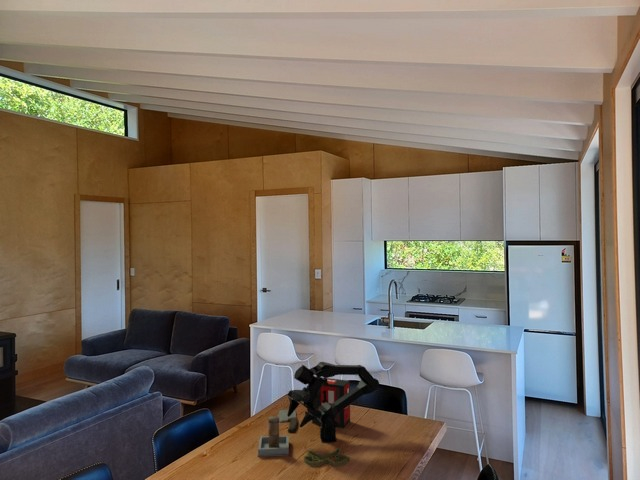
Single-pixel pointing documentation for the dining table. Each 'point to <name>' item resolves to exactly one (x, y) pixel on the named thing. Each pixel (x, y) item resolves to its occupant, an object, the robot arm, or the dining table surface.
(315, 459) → the cookie cutter
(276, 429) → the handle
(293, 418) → the cleaver
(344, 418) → the cleaning product box
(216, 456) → the dining table surface
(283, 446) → the box
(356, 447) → the dining table surface
